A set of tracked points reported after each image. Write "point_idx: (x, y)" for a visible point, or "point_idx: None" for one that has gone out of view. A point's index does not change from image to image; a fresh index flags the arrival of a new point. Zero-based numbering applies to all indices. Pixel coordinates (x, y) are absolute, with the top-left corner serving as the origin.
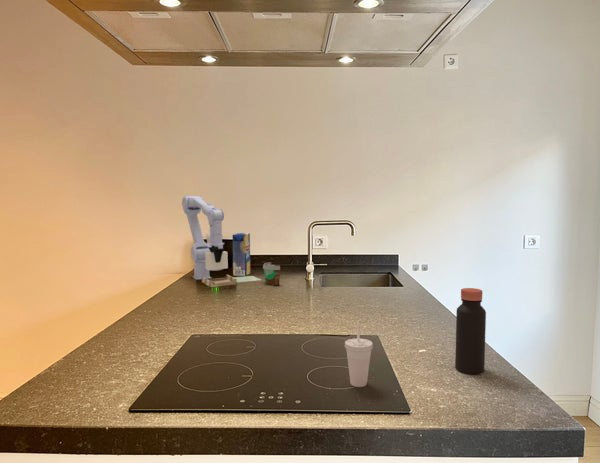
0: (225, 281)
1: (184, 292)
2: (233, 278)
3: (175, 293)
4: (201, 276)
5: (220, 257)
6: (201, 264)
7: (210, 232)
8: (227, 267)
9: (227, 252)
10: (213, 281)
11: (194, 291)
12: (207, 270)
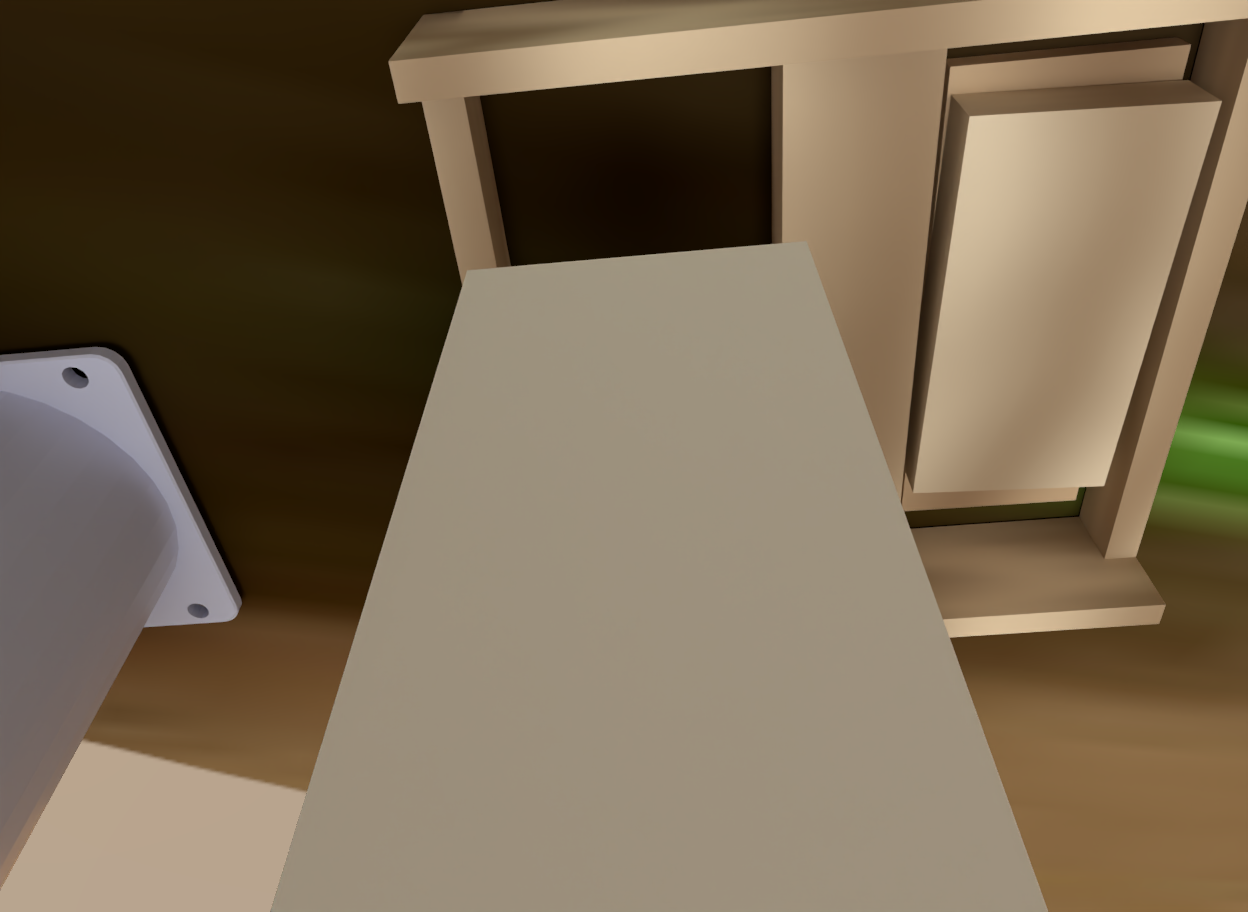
0: (1059, 246)
1: (1144, 814)
2: (1162, 24)
3: (1121, 879)
4: (162, 579)
5: None
6: (26, 818)
7: None
8: (811, 268)
9: (1040, 899)
10: None
11: (1182, 729)
12: (22, 560)
